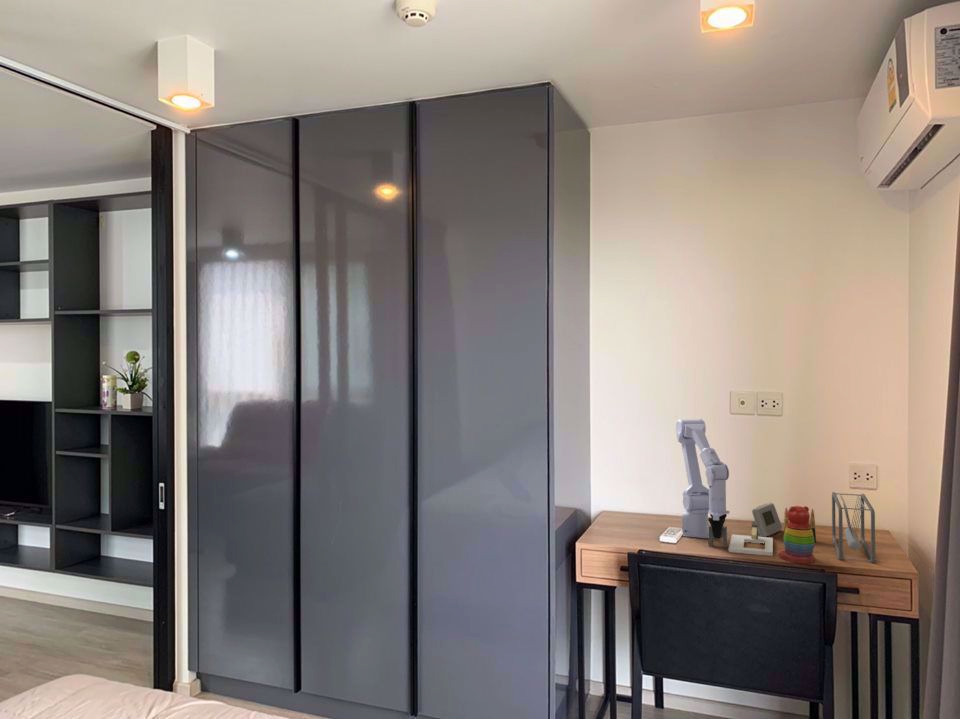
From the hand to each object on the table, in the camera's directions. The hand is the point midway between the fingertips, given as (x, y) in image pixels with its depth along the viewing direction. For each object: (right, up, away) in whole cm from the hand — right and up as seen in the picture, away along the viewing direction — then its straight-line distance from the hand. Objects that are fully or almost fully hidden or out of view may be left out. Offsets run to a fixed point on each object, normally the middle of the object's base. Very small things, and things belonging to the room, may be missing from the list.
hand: (717, 536), depth 247 cm
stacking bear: (+21, -4, -17) cm, 27 cm away
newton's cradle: (+44, -3, -8) cm, 45 cm away
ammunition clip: (+32, -3, +6) cm, 33 cm away
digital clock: (+25, -4, +17) cm, 30 cm away
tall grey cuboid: (0, -4, 0) cm, 4 cm away
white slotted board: (+12, -4, -1) cm, 12 cm away
